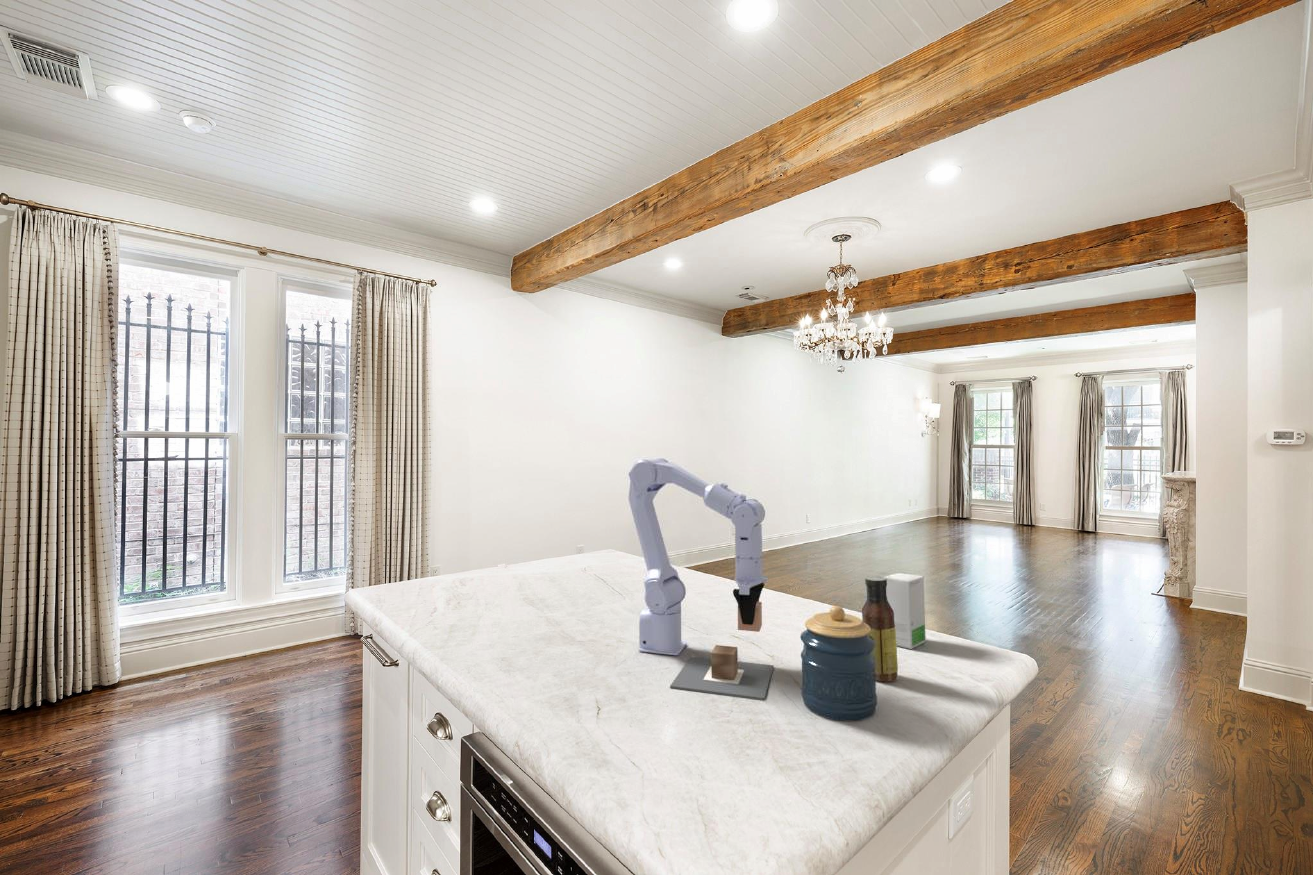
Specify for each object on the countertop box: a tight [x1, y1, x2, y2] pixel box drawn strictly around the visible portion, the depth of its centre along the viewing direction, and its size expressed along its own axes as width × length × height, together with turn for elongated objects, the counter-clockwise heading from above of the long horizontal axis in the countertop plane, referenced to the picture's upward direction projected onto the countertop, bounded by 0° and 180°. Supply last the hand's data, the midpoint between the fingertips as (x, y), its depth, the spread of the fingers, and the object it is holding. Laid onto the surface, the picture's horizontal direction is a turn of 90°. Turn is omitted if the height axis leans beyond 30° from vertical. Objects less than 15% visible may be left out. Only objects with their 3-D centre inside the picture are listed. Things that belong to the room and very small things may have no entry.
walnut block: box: [710, 644, 739, 680], centre depth 112 cm, size 4×4×5 cm
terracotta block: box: [737, 601, 763, 633], centre depth 118 cm, size 4×4×5 cm
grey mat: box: [669, 655, 775, 701], centre depth 112 cm, size 18×16×1 cm
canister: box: [799, 605, 878, 722], centre depth 99 cm, size 13×13×18 cm
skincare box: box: [884, 572, 927, 650], centre depth 131 cm, size 8×7×16 cm
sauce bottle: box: [861, 575, 899, 683], centre depth 111 cm, size 7×6×20 cm
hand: (749, 620), depth 118 cm, fingers closed on terracotta block, 4 cm apart
